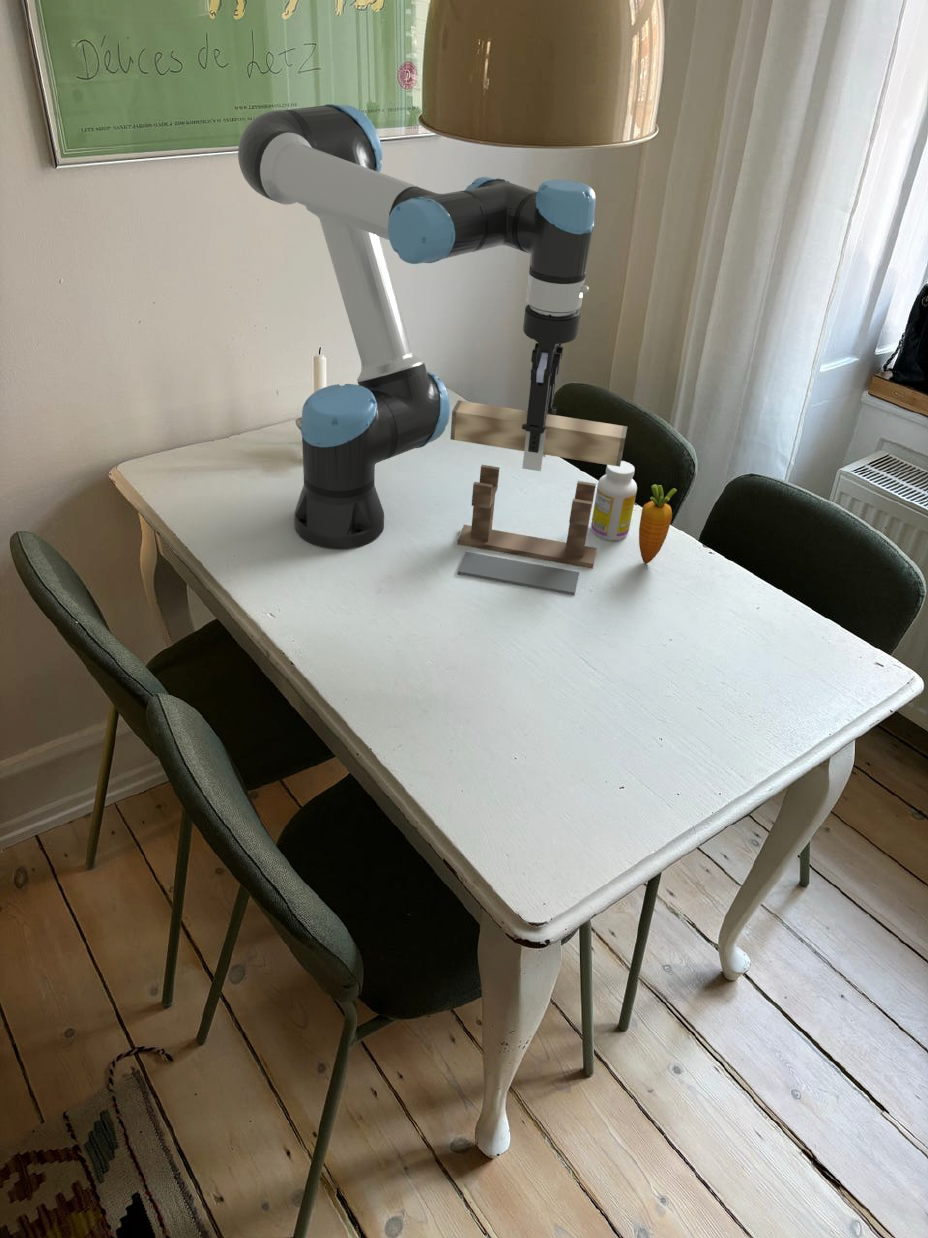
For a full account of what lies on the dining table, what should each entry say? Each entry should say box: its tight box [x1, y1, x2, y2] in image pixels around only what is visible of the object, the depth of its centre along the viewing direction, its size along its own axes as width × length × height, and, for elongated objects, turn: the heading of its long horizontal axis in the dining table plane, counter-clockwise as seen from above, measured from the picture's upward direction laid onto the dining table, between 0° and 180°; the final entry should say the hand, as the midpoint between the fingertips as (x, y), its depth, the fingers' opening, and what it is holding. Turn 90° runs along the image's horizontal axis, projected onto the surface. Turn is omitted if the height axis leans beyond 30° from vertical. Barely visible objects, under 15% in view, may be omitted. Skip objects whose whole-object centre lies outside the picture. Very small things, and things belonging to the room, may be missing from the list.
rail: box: [450, 400, 628, 467], centre depth 142 cm, size 25×4×4 cm, turn 78°
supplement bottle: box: [590, 460, 638, 542], centre depth 167 cm, size 7×7×13 cm
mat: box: [457, 551, 580, 596], centre depth 158 cm, size 19×6×1 cm, turn 78°
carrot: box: [638, 484, 678, 565], centre depth 159 cm, size 5×5×15 cm
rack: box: [456, 464, 598, 570], centre depth 160 cm, size 23×7×12 cm, turn 78°
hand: (534, 461), depth 145 cm, fingers closed on rail, 4 cm apart
